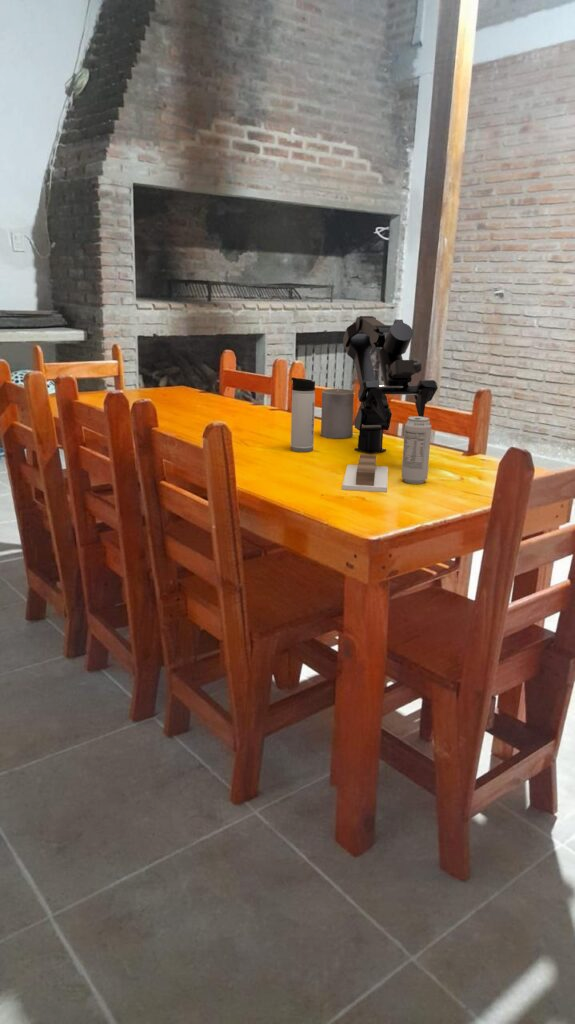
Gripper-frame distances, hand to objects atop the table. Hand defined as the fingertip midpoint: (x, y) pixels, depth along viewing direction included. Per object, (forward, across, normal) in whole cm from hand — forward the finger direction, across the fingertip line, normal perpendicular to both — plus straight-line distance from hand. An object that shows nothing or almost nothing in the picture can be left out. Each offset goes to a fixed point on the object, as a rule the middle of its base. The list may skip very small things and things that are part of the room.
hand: (403, 419), depth 173 cm
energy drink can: (+15, +1, +4) cm, 16 cm away
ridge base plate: (+13, -10, +6) cm, 17 cm away
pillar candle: (-23, -4, +44) cm, 49 cm away
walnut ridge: (+13, -10, +6) cm, 17 cm away
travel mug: (-10, -19, +30) cm, 37 cm away
